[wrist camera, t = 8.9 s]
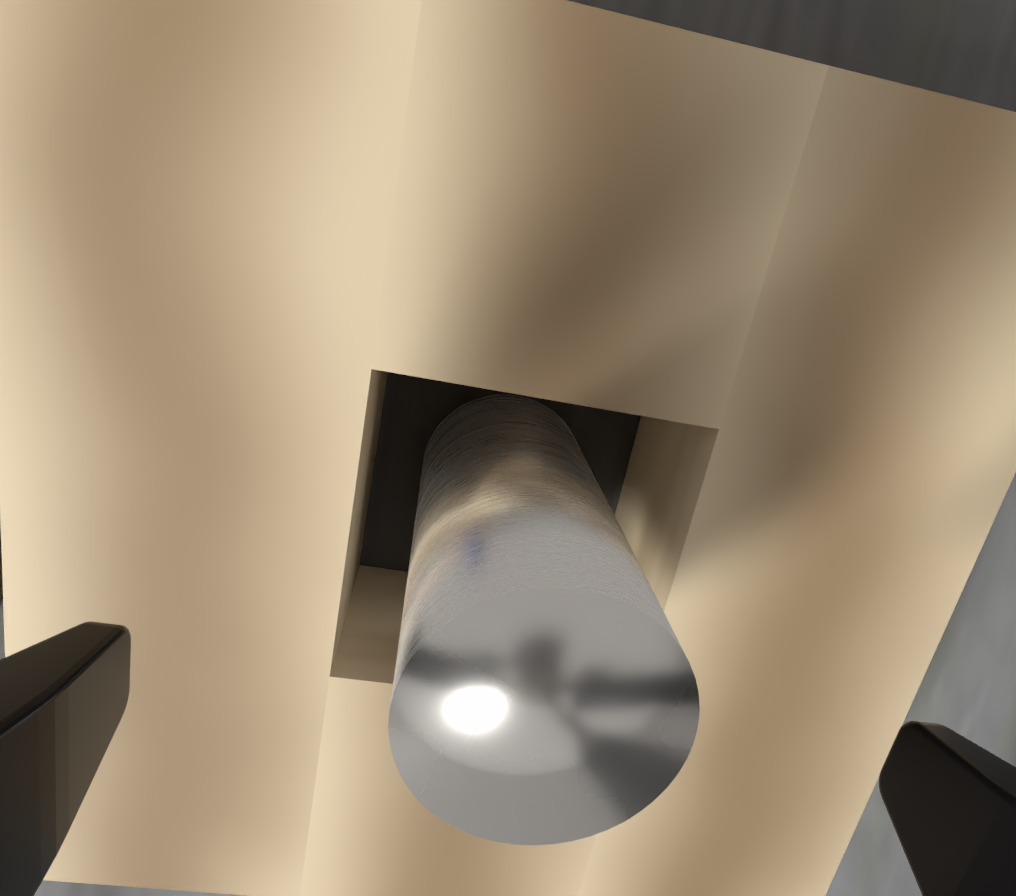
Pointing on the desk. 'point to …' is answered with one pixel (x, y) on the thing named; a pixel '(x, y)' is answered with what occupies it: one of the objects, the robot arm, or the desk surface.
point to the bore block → (495, 366)
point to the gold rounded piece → (0, 580)
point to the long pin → (531, 640)
